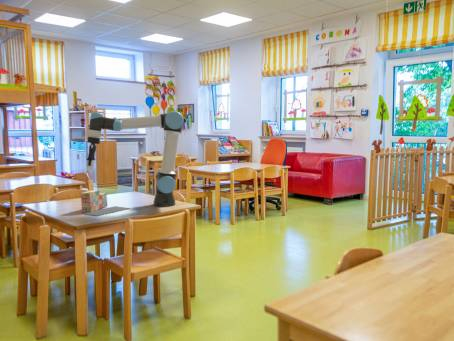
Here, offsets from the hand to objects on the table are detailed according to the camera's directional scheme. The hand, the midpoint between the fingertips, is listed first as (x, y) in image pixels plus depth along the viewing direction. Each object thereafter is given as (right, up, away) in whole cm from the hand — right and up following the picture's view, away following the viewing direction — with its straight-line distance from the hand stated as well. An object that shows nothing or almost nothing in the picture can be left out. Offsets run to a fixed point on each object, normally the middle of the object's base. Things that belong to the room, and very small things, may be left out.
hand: (89, 170), depth 263 cm
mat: (+10, -26, +3) cm, 28 cm away
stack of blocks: (+1, -26, +9) cm, 27 cm away
